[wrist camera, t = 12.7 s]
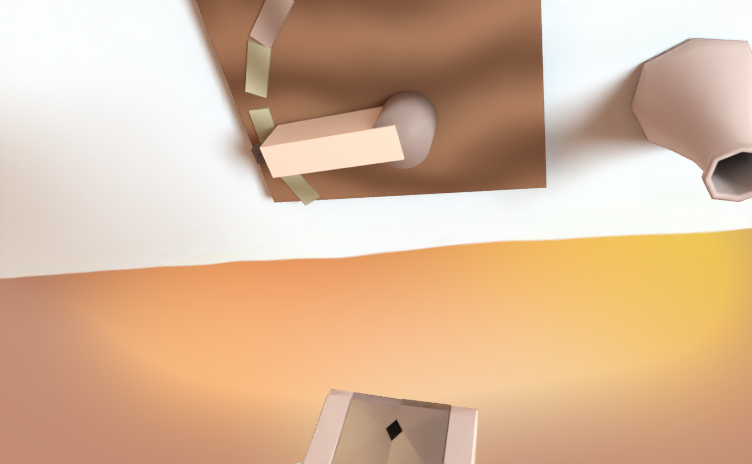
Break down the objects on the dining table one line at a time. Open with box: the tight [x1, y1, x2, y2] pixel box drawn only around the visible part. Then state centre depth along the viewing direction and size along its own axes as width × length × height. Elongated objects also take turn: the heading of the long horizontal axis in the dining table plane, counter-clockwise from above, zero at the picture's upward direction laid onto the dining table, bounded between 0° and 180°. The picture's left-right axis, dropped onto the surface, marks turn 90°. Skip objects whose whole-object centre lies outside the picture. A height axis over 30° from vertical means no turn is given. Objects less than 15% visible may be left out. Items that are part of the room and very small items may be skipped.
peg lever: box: [252, 91, 438, 178], centre depth 37 cm, size 14×4×4 cm, turn 106°
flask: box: [631, 38, 752, 202], centre depth 29 cm, size 7×7×10 cm
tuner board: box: [196, 0, 546, 205], centre depth 36 cm, size 19×22×2 cm
